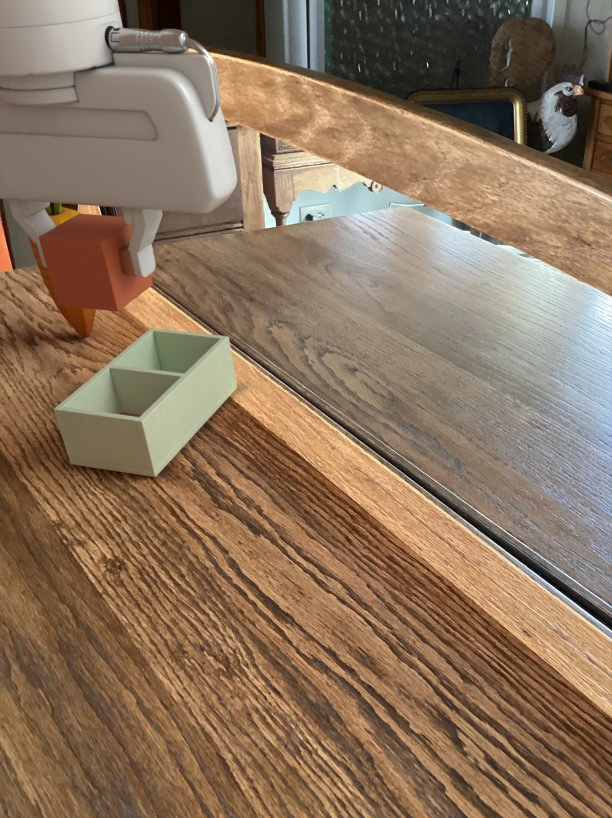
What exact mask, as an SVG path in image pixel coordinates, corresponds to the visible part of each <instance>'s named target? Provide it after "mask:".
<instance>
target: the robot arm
mask: <svg viewBox="0 0 612 818" xmlns="http://www.w3.org/2000/svg"><path fill="white" fill-rule="evenodd" d="M188 34H189V33H187V32H186V31H184V30H181V29H177V28H164V29H161V30H150V29H145V28H143V29H142V28H138V27H137V28H136V27H123V22H122V16H121V12H120V6H119V1H118V0H0V200H7V203H8V206H9V209H10V213H11V216H12V217H13V219H14V220H15V222H17V224H18V225H19V226H20V227H21V228H22V230H23V231H24V232H25V233H26V235H27V237H28V236H29V237H30V238H31V239H32V240H33V242H34V243H36V244H37V247H38V251H39V254H40V257H41V261H42V264H43V266H44V267H45V268H47V265H46V262H45V258H44V255H43V251H42V248H41V244H40V241H39V236H41V235H43V234H44V233H46V232H48V231H50V230H51V229H53V228H55V227H56V226H55V224H54V223H53V221H52V220H51V218H50V217H49V215H48V214H47V212H46V211H45V208H47V207H49V206H50V203H49V202H51V203H61V204H66V205H77V206H78V205H79V206H80V205H81V206H93V207H95V206H96V207H108V208H120V209H121V211H122V217H124V220H125V223H126V224H127V225H133V224H134V229H133V233H132V236H131V240H130V242H129V243H128V244H126V246H123V247H122V248H121V249H119V250H118V255H119V260H120V263H121V264H122V266H121V268H122V272H123V274H124V275H126V276H134V277H144V278H146V277H147V276H149V275H150V274H151V275H152V274H153V273H154V272H155V270H156V264H157V263H156V259H155V254H154V249H153V243H154V240H155V238H156V235H157V232H158V230H159V227H160V224H161V220H162V219H163V212H174V213H188V214H189V213H190V214H191V213H192V214H208V213H211V212H212V211H213V210H216V209H217V208H219V207H220V206H222V204H224V203H225V202H226V201H227V200H229V198H230V197H231V195H232V194H233V192H234V191H235V189H236V187H237V184H238V174H237V173H238V172H237V167H236V162H235V157H234V153H233V148H232V143H231V139H230V136H229V132H228V127H227V124H226V122H225V121H226V120H225V117H224V114H223V109H222V107H221V88H220V83H219V74H218V69H217V64H216V62H215V59H214V57H213V56H212V55H211V54H210V53H209V51H208V50H207V49H206V48H205V47H204V46H203V45H202V44H201V43H200V42H198V41H197V40H195V39H192V38H190V37H189V35H188ZM190 48H191V49H192V50H194V51H193V52H192V51H191V52H190V51H189V52H188V50H189V49H190ZM195 51H196V52H195Z"/></svg>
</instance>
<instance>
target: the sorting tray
mask: <svg viewBox="0 0 612 818" xmlns="http://www.w3.org/2000/svg"><path fill="white" fill-rule="evenodd" d="M237 389H238V385H237V379H236V372H235V365H234V360H233V353H232V347H231V342H230V337H229V336H227V335H220V334H209V333H202V332H201V333H200V332H192V331H191V332H190V331H181V330H172V329H162V328H154V327H150V328H149V329H147V330H146V331H145V332H144V333H143V334H141V335H140V336H139V337H138V338H137V339H136V340H134V341H133V342H132V343H131V344H130V345H128V346H127V347H126V348H125V349H124V350H122V351H121V352H120V353H118V355H116V357H114V358H113V359H112V360H111V361H109V362H108V363H106V365H105V366H104V367H102V368H101V369H100V370H98V372H96V373H95V374H93V376H92V377H90V378H89V379H88V380H86V381H85V382H84V383H83V384H82V385H80V386H79V387H78V388H77V389H76V390H74V391H73V393H71V394H70V395H69V396H68V397H66V398H65V399H64V400H63V401H62V402H60V403H59V404H58V405H57V406H56V407H54V408H53V412H54V416H55V419H56V423H57V425H58V428H59V431H60V435H61V439H62V441H63V444H64V448H65V450H66V454H67V457H68V460H69V464H70V465H73V466H80V467H86V468H93V469H99V470H105V471H106V470H107V471H110V472H111V471H113V472H118V473H124V474H125V473H126V474H131V475H138V476H144V477H150V478H156V477H157V476H158V475H159V474H160V473H161V472H162V471H163V470H164V468H165V467H167V466H168V464H169V463H171V461H172V460H173V459H174V458H175V456H177V454H178V453H179V452H180V451H181V450H182V449H183V448H184V447H185V446H186V445H187V443H188V442H189V441H190V440H191V439H192V438H193V437H194V436H195V435H196V433H198V431H199V430H200V429H201V428H202V427H203V426H204V425H205V424H206V423H207V421H209V419H210V418H211V417H212V416H213V415H214V414H215V413H216V412H217V411H218V409H219V408H220V407H222V405H223V404H224V403H225V402H226V401H227V400H228V398H230V396H231V395H232V394H233V393H234V392H235V391H236V390H237Z"/></svg>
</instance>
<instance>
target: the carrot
mask: <svg viewBox="0 0 612 818" xmlns="http://www.w3.org/2000/svg"><path fill="white" fill-rule="evenodd" d="M49 203H50V206H49V207H47V208H45V211H46V212H47V214H48V215H49V217H50V218H51V220H52V221H53V223H54V224H55V226H56V227H57V226H58V225H60V224H62V223H64V222H65V221H67V220H69V219H70V218H72V217H74V216H76V215H77V214H82V212H79V211H78V210H75V209H72V208H68V207H64V206H62V203H51V202H49ZM27 238H28V240H29V243H30V247H31V249H32V253H33V255H34V259H35V261H36V265H37V267H38V270H39V273H40V276H41V278H42V281H43V283H44V286H45V287H46V289H47V291H48V294H49V295H50V297H51V299H52V301H53V303H54V305H55V306H56V308H57V310H58V311H59V313H60V314H61V315H62V316H63V318H64V320H65V321H66V322H67V323H68V324H69V325H70V326H71V327H72V329H74V330H75V332H76V333H77V334H79V335H81V336H82V337H84V338H88V337H89V336H90V335H91V333H92V330H93V327H94V323H95V318H96V313H97V309H88V308H79V307H69V306H60V305H58V304H57V301H56V297H55V294H54V290H53V287H52V283H51V280H50V276H49V273H48V269H47V268H45V267H44V266H43V264H42V261H41V257H40V254H39V251H38V247H37V244H36V243H34V242H33V240H32V239H31V238H30V237H29V236H28V235H27Z"/></svg>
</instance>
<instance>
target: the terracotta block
mask: <svg viewBox="0 0 612 818" xmlns="http://www.w3.org/2000/svg"><path fill="white" fill-rule="evenodd" d="M133 229H134V224H133V225H127V224H126V223H125V220H124V216H119V215H118V216H117V215H106V214H105V215H103V214H93V213H92V214H91V213H81V214H77V215H76V216H74V217H72V218H70V219H69V220H67V221H65V222H64V223H62V224H60V225H58V226H57V227H55V228H53V229H51V230H50V231H48V232H46V233H44V234H43V235H41V236H39V241H40V244H41V248H42V251H43V255H44V258H45V262H46V265H47V269H48V273H49V276H50V280H51V283H52V287H53V290H54V294H55V297H56V301H57V304H58V305H60V306H69V307H79V308H88V309H96V310H97V311H98V310H99V311H109V312H120V311H121V310H122V309H123V308H125V307H126V306H128V305H129V304H130V303H131V302H133V301H134V300H135V299H137V298H138V297H139V296H141V295H142V294H143V293H144V292H146V291H147V290H148V289H150V288H151V287H152V286H153V285H154V281H153V277H152V273H151V274H150V275H149V276H147V277H146V278H144V277H134V276H126V275H124V274H123V272H122V268H121V266H122V264H121V263H120V260H119V255H118V250H119V249H121V248H122V247H123V246H126V244H128V243H129V242H130V240H131V236H132V233H133Z"/></svg>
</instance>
